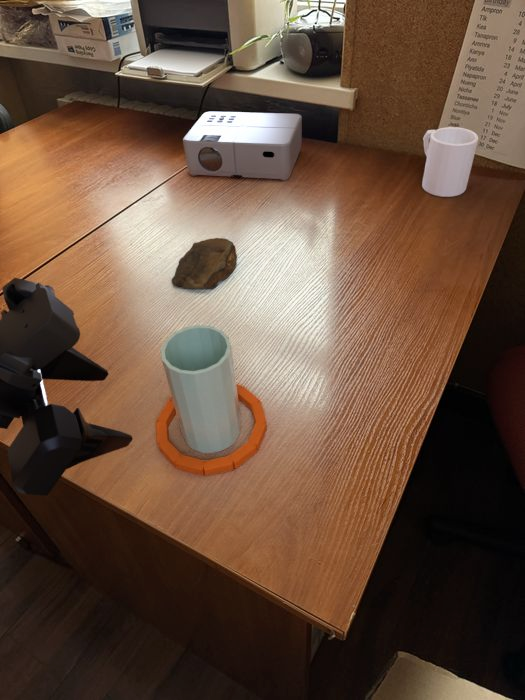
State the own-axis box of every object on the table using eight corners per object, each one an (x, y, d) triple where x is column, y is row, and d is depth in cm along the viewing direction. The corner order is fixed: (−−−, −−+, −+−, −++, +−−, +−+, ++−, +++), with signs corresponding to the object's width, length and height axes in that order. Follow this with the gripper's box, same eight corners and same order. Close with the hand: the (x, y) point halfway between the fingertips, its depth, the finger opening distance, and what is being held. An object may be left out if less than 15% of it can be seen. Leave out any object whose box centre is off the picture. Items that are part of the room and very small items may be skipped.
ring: (161, 485, 53) (159, 479, 52) (155, 398, 62) (153, 392, 61) (276, 461, 55) (275, 455, 54) (253, 379, 63) (253, 373, 62)
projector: (209, 145, 117) (204, 110, 111) (302, 148, 113) (302, 112, 107) (186, 177, 105) (179, 140, 100) (289, 183, 101) (288, 144, 96)
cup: (175, 449, 56) (151, 370, 47) (191, 403, 61) (172, 322, 52) (234, 456, 55) (221, 376, 46) (246, 408, 60) (236, 327, 51)
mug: (434, 166, 103) (444, 117, 96) (474, 190, 95) (488, 138, 88) (401, 175, 101) (409, 125, 94) (439, 201, 93) (450, 148, 86)
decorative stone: (220, 296, 76) (218, 277, 73) (163, 287, 78) (159, 269, 76) (242, 258, 83) (240, 239, 81) (189, 250, 85) (186, 232, 83)
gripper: (-3, 366, 29) (198, 414, 40) (-24, 224, 42) (135, 290, 53) (-80, 492, 33) (126, 505, 44) (-78, 326, 45) (82, 368, 56)
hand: (117, 406), depth 49 cm, fingers open, 9 cm apart
